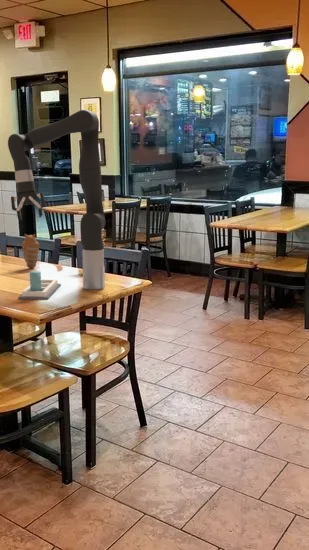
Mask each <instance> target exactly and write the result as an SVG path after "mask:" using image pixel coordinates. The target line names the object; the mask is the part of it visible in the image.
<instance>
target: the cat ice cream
mask: <svg viewBox="0 0 309 550" xmlns="http://www.w3.org/2000/svg"><path fill="white" fill-rule="evenodd" d="M36 238H37V237H36V233H34V234H29V235H28V234H26V233H24V241H22V242H21V247H22V249H21V251H22V253H23V255H22V256H23V258H24V262H25V263H26V267H27V268H29V269H35V267H36V266H37V263H38V258H39V253H40V249H39V248H40V243H39V241H37V239H36Z"/></svg>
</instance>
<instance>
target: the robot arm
mask: <svg viewBox="0 0 309 550" xmlns="http://www.w3.org/2000/svg"><path fill="white" fill-rule="evenodd" d="M74 133H75V134H77V133H80V138H81V151H80V157H79V160H78V162H79V163H78V172H79V181H80V182H79V183H80V186H81V190H82V192H83V195H84V199H85V205H86V206H85V209H86V210H85V212H86V213H85V214H84V215H82V217H81V219H80V223H79V225H80V227H79V228H80V241H81V242H80V243H81V245H82V288H83V289H86V290H103V289H105V286H106V282H105V281H106V279H105V278H106V274H105V269H106V268H105V262H104V261H105V255H104V254H105V251H104V250H105V247H104V246H105V245H104V242H103V238H102V231H103V230H104V228H105V226H106V216H105V212H104V203H103V186H102V185H103V183H102V170H101V169H102V168H101V157H100V156H101V155H100V149H99V148H100V147H99V135H100V120H99V117H98V115H97V114H96V113H95V112H94V111H91V110H88V109H79V110H77V112H74V113H72V114H70V115H69V116H66V117H65V118H63V119H60V120H57V121H54V122H52V123H48V124H46V125H42V126H39V127H36V128H33V129H31V130H29V132H27V133H25V134H18V133H13V134H11V135H9V137H8V139H7V147H8V148H7V149H8V151H9V154H10V157H11V160H12V162H13V168H14V178H15V184H16V189H17V190H16V191H17V196H13V195H12V196H11V197H10V202H11V210H12V211H14V212H16V215H17V218H18V220H20V221H21V220H22V213H21V209H22V208H23V205H24V206H27V205H33V204H34V205H35V206H36V207H38V209H37V210H38V217H39V218H42V217H43V210H42V209H43V208H44V207H46V200H45V196H44V194H43V192H39V193H37V192H36V187H35V180H34V176H33V175H34V174H33V171H32V164H31V160H30V158H29V157H28V155H26V151H30V150H32V149H33V148H36V147H38V146H41V145H45V144H47V143H50V142H53V141H55V140H57V139H59V138H61V137H64V136H66V135H70V134H74ZM37 198H39V199H40V200H41V204H39V202H38V201H36V199H37ZM17 200H18V201H19V204H18V206H17V207H16V203H15V202H17Z"/></svg>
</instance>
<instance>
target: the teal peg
mask: <svg viewBox="0 0 309 550" xmlns="http://www.w3.org/2000/svg"><path fill="white" fill-rule="evenodd" d="M41 280H42V274H41V271H40V270H33V271H29V285H30V291H41Z"/></svg>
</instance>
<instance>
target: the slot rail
mask: <svg viewBox="0 0 309 550" xmlns="http://www.w3.org/2000/svg"><path fill="white" fill-rule="evenodd" d="M61 286H62V284H61V283H58V279H41V291H30V284H29V285H28V286H27V287H25V288H24V289H23V290H22V291H21V294H20V295H19V296H18V299H19V300H49V299H50V298H52V296H53V295H54V294H55V293H56V291H58V289H59V288H60V287H61Z"/></svg>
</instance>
